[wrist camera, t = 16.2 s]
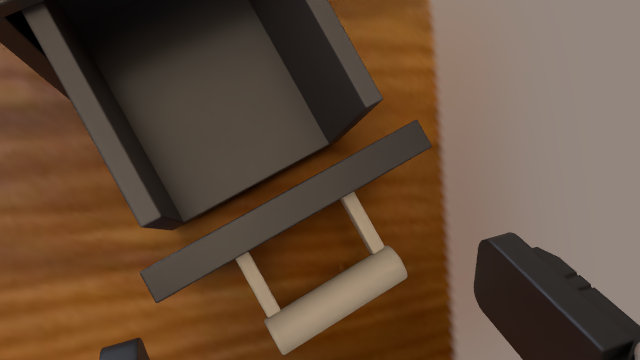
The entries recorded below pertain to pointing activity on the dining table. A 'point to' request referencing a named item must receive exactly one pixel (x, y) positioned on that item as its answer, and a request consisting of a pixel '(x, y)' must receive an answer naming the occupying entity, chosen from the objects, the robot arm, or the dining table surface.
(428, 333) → the dining table surface
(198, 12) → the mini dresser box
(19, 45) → the dark drawer cabinet
